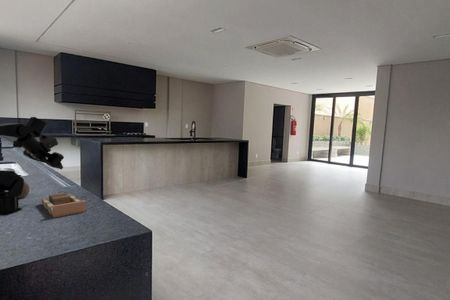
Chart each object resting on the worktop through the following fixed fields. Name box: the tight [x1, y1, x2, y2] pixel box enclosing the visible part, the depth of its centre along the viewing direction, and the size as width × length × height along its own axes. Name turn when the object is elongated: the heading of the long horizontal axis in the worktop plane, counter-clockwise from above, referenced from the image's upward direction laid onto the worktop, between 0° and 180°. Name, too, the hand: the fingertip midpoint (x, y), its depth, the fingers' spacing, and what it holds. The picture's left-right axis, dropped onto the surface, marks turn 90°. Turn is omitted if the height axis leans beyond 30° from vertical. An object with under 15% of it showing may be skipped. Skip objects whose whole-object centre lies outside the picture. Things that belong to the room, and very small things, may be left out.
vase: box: [17, 180, 30, 200], centre depth 123 cm, size 7×7×9 cm
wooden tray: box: [41, 193, 81, 217], centre depth 111 cm, size 20×11×2 cm, turn 43°
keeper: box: [48, 192, 70, 205], centre depth 114 cm, size 8×6×4 cm
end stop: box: [52, 199, 87, 218], centre depth 103 cm, size 2×11×4 cm, turn 133°
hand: (55, 165), depth 126 cm, fingers open, 9 cm apart
